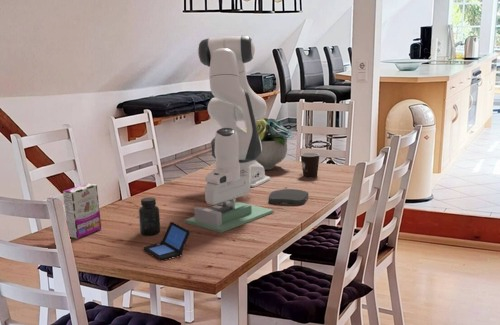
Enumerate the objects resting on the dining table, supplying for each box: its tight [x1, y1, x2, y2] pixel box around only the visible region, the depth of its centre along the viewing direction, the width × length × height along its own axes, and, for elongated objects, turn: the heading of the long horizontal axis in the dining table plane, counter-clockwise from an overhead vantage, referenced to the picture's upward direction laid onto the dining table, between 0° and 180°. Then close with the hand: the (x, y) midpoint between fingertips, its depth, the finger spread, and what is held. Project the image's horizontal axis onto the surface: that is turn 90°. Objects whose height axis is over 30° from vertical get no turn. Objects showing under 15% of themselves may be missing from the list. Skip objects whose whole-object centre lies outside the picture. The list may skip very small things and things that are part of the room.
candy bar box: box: [62, 182, 102, 240], centre depth 203 cm, size 11×5×16 cm, turn 148°
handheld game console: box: [143, 221, 191, 261], centre depth 185 cm, size 12×11×7 cm
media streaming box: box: [268, 188, 309, 206], centre depth 238 cm, size 15×15×3 cm
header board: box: [184, 200, 275, 233], centre depth 217 cm, size 28×18×6 cm, turn 139°
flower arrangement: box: [243, 117, 295, 170], centre depth 290 cm, size 25×25×24 cm
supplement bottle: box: [138, 197, 161, 237], centre depth 202 cm, size 7×7×12 cm
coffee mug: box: [300, 152, 321, 178], centre depth 276 cm, size 12×9×10 cm
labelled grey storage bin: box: [207, 203, 229, 214], centre depth 212 cm, size 7×5×5 cm
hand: (229, 210), depth 217 cm, fingers closed
